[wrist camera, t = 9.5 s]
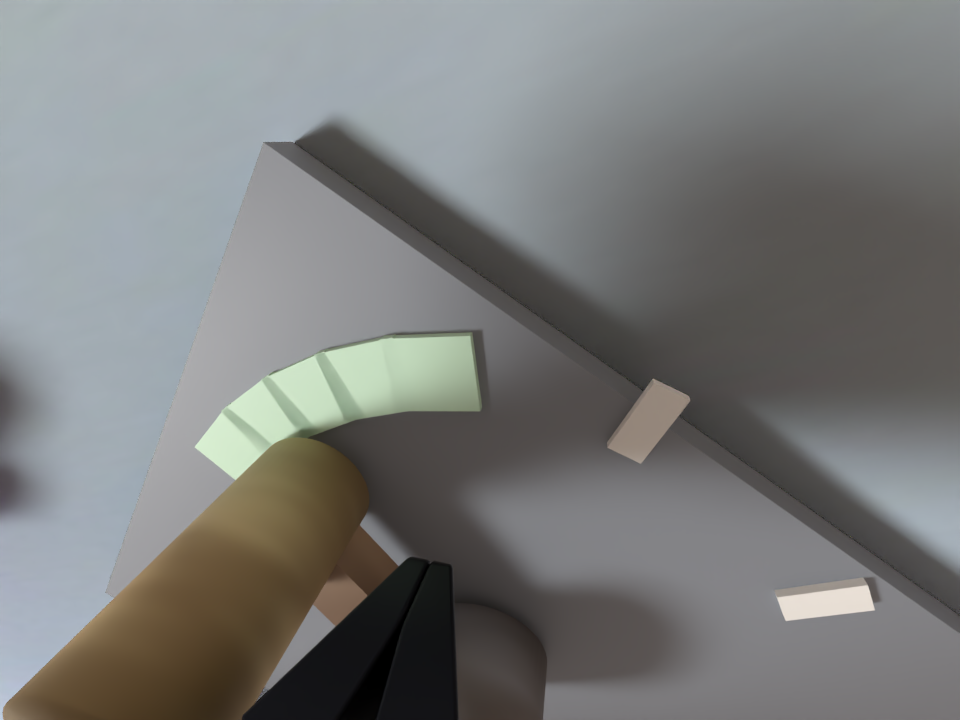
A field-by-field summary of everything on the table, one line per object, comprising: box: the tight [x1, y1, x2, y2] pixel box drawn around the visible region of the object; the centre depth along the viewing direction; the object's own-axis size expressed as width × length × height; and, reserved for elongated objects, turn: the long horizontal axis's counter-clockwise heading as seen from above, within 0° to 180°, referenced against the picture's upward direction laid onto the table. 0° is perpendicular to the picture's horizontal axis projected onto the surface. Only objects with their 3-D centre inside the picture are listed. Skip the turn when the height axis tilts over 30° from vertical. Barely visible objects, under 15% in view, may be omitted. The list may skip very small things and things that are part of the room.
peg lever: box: [3, 437, 547, 720], centre depth 10 cm, size 10×4×6 cm, turn 37°
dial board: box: [105, 142, 960, 720], centre depth 14 cm, size 19×22×1 cm
